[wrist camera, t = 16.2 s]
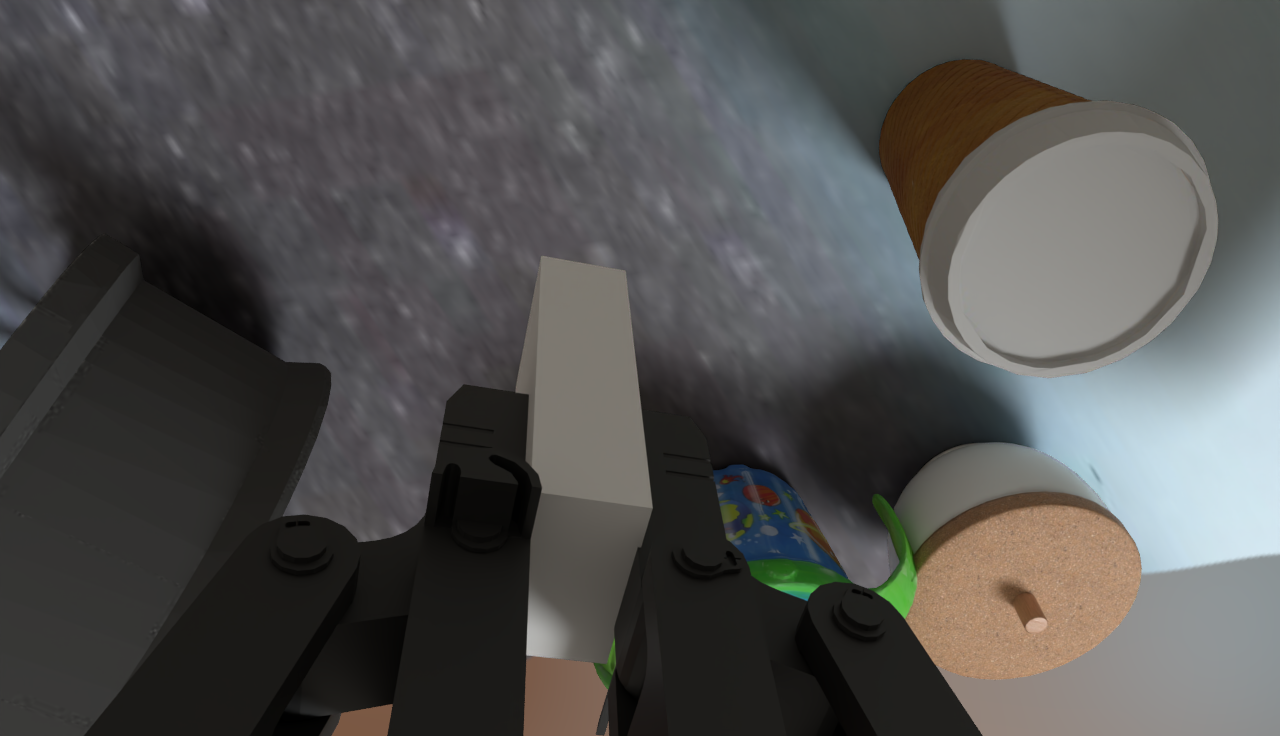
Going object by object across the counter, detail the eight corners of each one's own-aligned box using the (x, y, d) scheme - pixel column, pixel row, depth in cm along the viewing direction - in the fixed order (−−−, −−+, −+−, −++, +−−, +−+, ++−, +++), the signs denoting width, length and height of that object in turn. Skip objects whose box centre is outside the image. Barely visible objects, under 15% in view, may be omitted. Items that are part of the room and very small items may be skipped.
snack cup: (619, 632, 56) (637, 796, 47) (546, 493, 50) (551, 650, 42) (895, 542, 54) (965, 695, 46) (851, 388, 49) (921, 530, 40)
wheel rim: (166, 155, 40) (-107, 465, 23) (367, 283, 44) (256, 632, 27) (-42, 479, 48) (-365, 895, 31) (146, 566, 51) (-51, 982, 34)
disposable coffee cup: (964, 275, 46) (1082, 430, 36) (794, 175, 43) (872, 313, 33) (1116, 94, 42) (1297, 210, 32) (941, -32, 39) (1082, 53, 29)
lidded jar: (1002, 588, 56) (1071, 728, 48) (827, 541, 54) (870, 681, 46) (1114, 437, 51) (1212, 566, 43) (927, 378, 49) (994, 503, 41)
